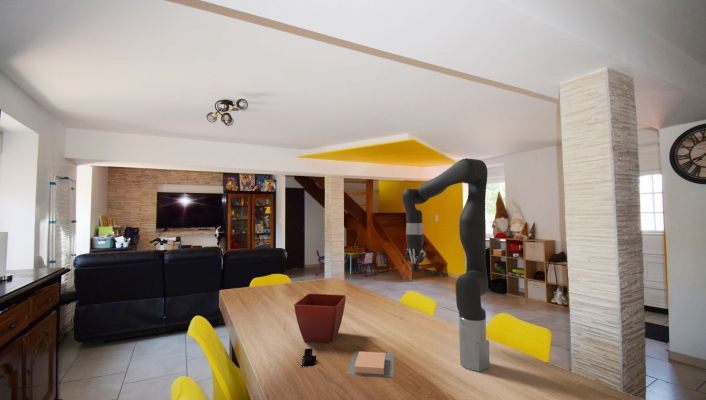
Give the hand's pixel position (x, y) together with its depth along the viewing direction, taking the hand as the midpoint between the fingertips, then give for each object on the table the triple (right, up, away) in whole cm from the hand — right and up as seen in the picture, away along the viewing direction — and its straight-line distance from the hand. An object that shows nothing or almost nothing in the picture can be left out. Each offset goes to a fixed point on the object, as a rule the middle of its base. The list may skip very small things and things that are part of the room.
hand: (415, 272), depth 144 cm
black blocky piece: (-45, -30, -22) cm, 58 cm away
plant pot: (-42, -30, +1) cm, 52 cm away
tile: (-21, -27, -22) cm, 40 cm away
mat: (-21, -28, -26) cm, 44 cm away
